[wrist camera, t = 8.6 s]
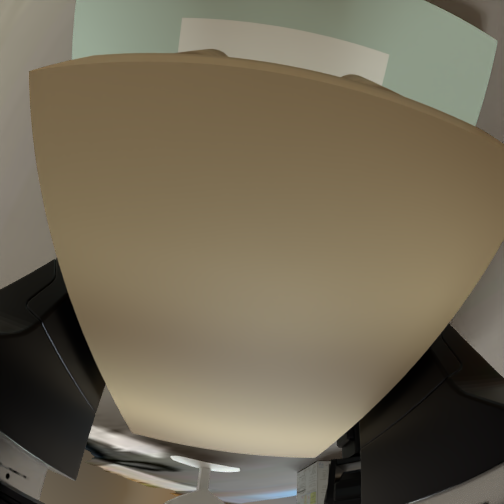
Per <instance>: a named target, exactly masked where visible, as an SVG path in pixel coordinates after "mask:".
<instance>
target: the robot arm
mask: <svg viewBox="0 0 504 504" xmlns="http://www.w3.org/2000/svg"><path fill="white" fill-rule="evenodd" d="M105 384H106V383H105V381H104V379H103V377H102V375H101V373H100V371H99V368H98V366H97V364H96V362H95V360H94V357H93V355H92V353H91V351H90V348H89V346H88V344H87V341H86V339H85V336H84V334H83V331H82V329H81V326H80V324H79V321H78V319H77V316H76V313H75V311H74V308H73V305H72V302H71V299H70V297H69V294H68V291H67V288H66V285H65V282H64V278H63V275H62V272H61V269H60V266H59V262H58V259H57V258H56V260H55V259H54V260H52V261H50V262H49V263H47V264H45V265H44V266H42V267H40V268H39V269H37V270H35V271H33V272H32V273H30V274H28V275H26V276H25V277H23V278H21V279H19V280H17V281H15V282H13V283H12V284H10V285H8V286H6V287H4V288H2V289H0V504H45V503H42V502H41V501H39V499H40V495H41V491H42V487H43V484H44V480H45V476H46V473H47V469H49V470H51V471H54V472H56V473H58V474H60V475H63V476H65V477H67V478H70V479H72V480H76V478H77V475H78V471H79V468H80V464H81V460H82V457H83V453H84V450H85V447H86V443H87V440H88V437H89V433H90V430H91V427H92V424H93V420H94V417H95V413H96V411H97V408H98V405H99V402H100V399H101V396H102V393H103V390H104V387H105ZM337 446H338V447H339V448H342V458H343V459H332V460H331V463H330V464H329V474H328V486H327V490H326V494H325V499H324V504H504V378H503V377H502V376H501V375H500V374H499V373H498V372H497V371H496V370H495V369H494V368H493V367H492V366H491V365H490V364H489V363H488V362H487V361H486V360H485V359H484V358H483V357H482V356H481V355H480V354H479V353H478V352H477V351H476V350H474V349H473V348H472V347H471V346H470V345H469V344H468V343H467V342H466V341H465V340H464V339H463V338H462V337H461V336H460V335H459V333H458V332H457V331H456V330H455V329H454V328H453V327H452V326H451V325H450V324H449V323H448V325H447V326H446V327H445V329H444V330H443V331H442V332H441V334H440V335H439V336H438V337H437V339H436V340H435V341H434V342H433V344H432V345H431V346H430V347H429V348H428V350H427V351H426V352H425V353H424V354H423V355H422V357H421V358H420V359H419V360H418V361H417V362H416V363H415V365H414V366H413V367H412V368H411V369H410V370H409V371H408V372H407V373H406V375H405V376H404V377H403V378H402V379H401V380H400V381H399V382H398V383H397V384H396V385H395V386H394V387H393V388H392V389H391V390H390V391H389V392H388V393H387V394H386V395H385V396H384V397H383V398H382V399H381V400H380V401H379V402H378V403H377V404H376V405H375V406H374V407H373V408H372V409H371V410H370V411H369V412H368V413H367V414H366V415H365V416H364V417H363V418H362V419H360V420H359V421H358V422H357V423H356V424H355V425H354V426H353V427H352V428H350V429H349V430H348V431H347V432H346V433H345V434H344V435H342V436H341V437H340V438H339V439H338V440H337Z"/></svg>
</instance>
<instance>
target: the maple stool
mask: <svg viewBox="0 0 504 504" xmlns="http://www.w3.org/2000/svg"><path fill="white" fill-rule="evenodd" d="M29 90H30V109H31V121H32V132H33V141H34V149H35V156H36V163H37V170H38V176H39V182H40V187H41V192H42V198H43V202H44V207H45V212H46V216H47V221H48V225H49V229H50V233H51V237H52V241H53V244H54V248H55V252H56V255H57V259H58V262H59V266H60V269H61V272H62V275H63V278H64V282H65V285H66V288H67V291H68V294H69V297H70V299H71V302H72V305H73V308H74V311H75V313H76V316H77V319H78V321H79V324H80V326H81V329H82V331H83V334H84V336H85V339H86V341H87V344H88V346H89V348H90V351H91V353H92V355H93V357H94V360H95V362H96V364H97V366H98V368H99V371H100V373H101V375H102V377H103V379H104V381H105V383H106V385H107V387H108V389H109V391H110V393H111V395H112V397H113V399H114V401H115V403H116V405H117V407H118V409H119V410H120V412H121V414H122V416H123V418H124V419H125V421H126V423H127V425H128V427H129V428H130V430H131V432H132V433H134V434H138V435H142V436H146V437H150V438H154V439H158V440H163V441H167V442H172V443H177V444H182V445H187V446H193V447H199V448H205V449H211V450H218V451H225V452H233V453H242V454H251V455H263V456H277V457H300V458H315V457H317V456H318V455H319V454H320V453H322V452H323V451H324V450H326V449H327V448H328V447H329V446H330V445H332V444H333V443H334V442H335V441H336V440H338V439H339V438H340V437H341V436H342V435H344V434H345V433H346V432H347V431H348V430H349V429H350V428H352V427H353V426H354V425H355V424H356V423H357V422H358V421H359V420H360V419H362V418H363V417H364V416H365V415H366V414H367V413H368V412H369V411H370V410H371V409H372V408H373V407H374V406H375V405H376V404H377V403H378V402H379V401H380V400H381V399H382V398H383V397H384V396H385V395H386V394H387V393H388V392H389V391H390V390H391V389H392V388H393V387H394V386H395V385H396V384H397V383H398V382H399V381H400V380H401V379H402V378H403V377H404V376H405V375H406V373H407V372H408V371H409V370H410V369H411V368H412V367H413V366H414V365H415V363H416V362H417V361H418V360H419V359H420V358H421V357H422V355H423V354H424V353H425V352H426V351H427V350H428V348H429V347H430V346H431V345H432V344H433V342H434V341H435V340H436V339H437V337H438V336H439V335H440V334H441V332H442V331H443V330H444V329H445V327H446V326H447V325H448V323H449V322H450V321H451V319H452V318H453V317H454V315H455V314H456V313H457V311H458V310H459V309H460V307H461V306H462V304H463V303H464V302H465V300H466V299H467V297H468V296H469V295H470V293H471V292H472V290H473V289H474V287H475V286H476V284H477V283H478V281H479V280H480V278H481V277H482V275H483V273H484V272H485V270H486V269H487V267H488V265H489V264H490V262H491V261H492V259H493V257H494V256H495V254H496V252H497V250H498V249H499V247H500V245H501V243H502V242H503V240H504V144H503V143H501V142H500V141H498V140H497V139H495V138H494V137H492V136H491V135H489V134H488V133H486V132H484V131H483V130H481V129H479V128H477V127H475V126H473V125H471V124H469V123H467V122H465V121H463V120H460V119H458V118H456V117H454V116H451V115H449V114H447V113H445V112H442V111H440V110H437V109H435V108H433V107H430V106H428V105H425V104H423V103H420V102H417V101H415V100H412V99H409V98H407V97H404V96H402V95H400V94H398V93H396V92H394V91H392V90H390V89H388V88H386V87H383V86H381V85H379V84H377V83H375V82H373V81H370V80H368V79H366V78H364V77H361V76H359V75H355V74H348V75H344V76H342V77H338V76H334V75H330V74H326V73H322V72H317V71H313V70H308V69H303V68H298V67H293V66H288V65H282V64H277V63H271V62H264V61H258V60H250V59H242V58H234V57H228V56H227V55H226V54H225V53H224V52H222V51H220V50H216V49H204V50H194V51H186V52H179V53H123V54H105V55H93V56H88V57H83V58H78V59H74V60H69V61H65V62H61V63H57V64H53V65H49V66H46V67H42V68H38V69H35V70H32V71H29Z"/></svg>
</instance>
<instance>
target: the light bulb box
mask: <svg viewBox="0 0 504 504" xmlns="http://www.w3.org/2000/svg"><path fill="white" fill-rule="evenodd" d="M330 463H331V461H317V462H316V463H314V464H312V465H311V466H309V467H307V468H306V469H304V470H302V471H300V472H299V473H297V504H324V499H325V494H326V490H327V486H328V474H329V464H330Z"/></svg>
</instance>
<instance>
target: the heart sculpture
mask: <svg viewBox="0 0 504 504" xmlns="http://www.w3.org/2000/svg"><path fill="white" fill-rule="evenodd" d="M171 458H172V459H173V460H175V461H178V462H180V463H183V464H188V465H190V466H193V467H197V468H200V470H199V477H198V484H197V490H196V491H194V492H191V493H188V494H184V495H181V496H178V497H175V498H173V499H171V500H169V501H167V502H165V503H164V504H225V503H224V502H223V501H221V500H220V499H219V498H217V497H216V496H214V495H213V494H212V493H211V492H209V491H208V487H209V479H210V471H211V470H212V471H221V472H237V471H240V469H239V468H234V467H228V466H223V465H218V464H213V463H208V462H203V461H199V460H194V459H190V458H186V457H182V456H171Z"/></svg>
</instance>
